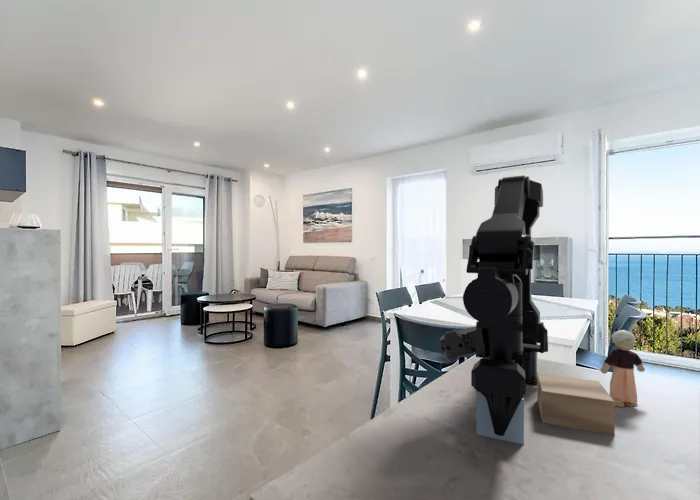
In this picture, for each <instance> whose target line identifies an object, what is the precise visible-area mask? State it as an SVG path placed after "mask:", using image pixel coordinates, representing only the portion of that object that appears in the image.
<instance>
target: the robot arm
mask: <svg viewBox="0 0 700 500" xmlns="http://www.w3.org/2000/svg"><path fill="white" fill-rule="evenodd" d="M543 189H544V188H543V185H542V183H541V182H539V181H535V180H531V179H530V176H526V175H515V176H505V177H502V178H499V179H498V183H497V186H495V188H494V207H493V211H492V214H491V217H489V218H488V219H486V220H484V221H483V222H481V223H480V225H479V226H478V228H477V231H476V233H475V235H473V236H472V238H471V244H470V249H469V254H468V257H467V258H468V259H467V265H466V270H465V271H466V274H477V277H476V278H474V279H473V280H471V282H469V283H468V284H467V286H466V287H465V289H464V291H463V294H462V301H463V303H462V304H463V306H464V308H465V310H466V312H467V313H468V315H469V316H470V317H472V318H473V319H474V320H476V322H475V326H473V327H471V326H470V327H468V328H463V329H459V330H458V329H453V330H452V331H449V330H448V331H446V332H445V333H444V334H443V335H442V336H441V337H440V338H439V342H440V348H439V349H440V351H441V352H442V353H444V357H445V360H446V361H447V360H455V358H457V357H461V356H466V355H469V354H473V353H475V358H480V359H479V360H478V361H477V362H475V363H474V364H473V366H472V369H471V370H470V372H471V375H470V376H471V377H470V383H471V384H470V386H471V387H473V389H474V390H475V392H477V391H478V392H480V393H481V394H482V395H483V396H484V397H485V398H486V400H487V404H488V408H489V412H490V416H491V420H492V425H493V429H494V433H495V434H496V435H499V436H504V434H505V432H506V430H507V428H508V426H509V424H510V422H511V420H512V418H513V416H514V414H515V412H516V410H517V408H518V406H519V404H520V402H521V400H522V398H524V399H525V395H526V391H527V390H526V389H527V388H526V383H528V384H535V385H537V373H538V362H537V361H538V353H540V354H544V353H547V352H549V338H548V337H549V336H548V335H549V334H548V329H547V328H546V327H545V325H544V324H545V323H544V322H542V321H541V312H540V310H539V308H538V307H537V305H535V304H536V303H534V301H533V300H532V270H533V267H534V260H535V259H534V257H535V242H534V241H533V240H532V228H533V226H535V223H536V221H537V220H538V219H539V217H540V211H541V210H540V208H543V207H544V190H543Z"/></svg>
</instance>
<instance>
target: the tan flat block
mask: <svg viewBox="0 0 700 500" xmlns="http://www.w3.org/2000/svg"><path fill="white" fill-rule="evenodd" d="M536 388H537V390H536V393H537V394H536V395H537V397H536V398H537V399H536V401H537V406H538V410H539V413H540V414H539V415H540V419H541V423H543V424H547V425H548V424H549V425H554V426H559V427H564V428H565V427H566V428H569V429H570V428H571V429H577V430H581V431H587V432H594V433H597V434H599V433H600V434H603V435H604V434H605V435H609V436H616V435H615V434H616V433H615V431H616V429H615V406H614V400H613V399H612V398H611V396H610V395H609V394H610V393H608V391H607V389H605V387H604V386H603V384H602V383H601V382H600V381H599V380H591V379H582V378H577V377H569V376H568V377H567V376H561V375H560V376H559V375H554V374H552V375H551V374H545V373H544V374H543V373H538V372H537V384H536Z"/></svg>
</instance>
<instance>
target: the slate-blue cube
mask: <svg viewBox="0 0 700 500" xmlns="http://www.w3.org/2000/svg"><path fill="white" fill-rule="evenodd" d="M475 392H476V393H475V394H476V398H475V399H476V405H475V406H476V415H475V419H476V421H475V422H476V428H475V430H476V432H475V433H476V435H478V436H482V437H487V438H492V439H495V440H501V441H505V442H510V443H515V444H519V445H523V446H524V445H525V417H524V416H525V409H524V408H525V397H524V398H522V400H521V402H520V404H519V406H518V408H517V410H516V412H515V414H514V416H513V418H512V420H511V422H510V424H509V426H508V428H507V430H506V432H505V434H504V436H499V435H496V434H495V433H494V429H493V425H492V420H491V416H490V412H489V408H488V404H487V400H486V398H485V397H484V396H483V395H482V394H481V393H480V392H478V391H475Z"/></svg>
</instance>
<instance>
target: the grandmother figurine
mask: <svg viewBox="0 0 700 500" xmlns="http://www.w3.org/2000/svg"><path fill="white" fill-rule="evenodd" d="M611 339H612V340H611V341H612V342H613V343H614V345H615V347H616V349H613V350H611V352H610V353H609V354H608V355H607V357H606V358H605V359H604V361H603V364H602V367H601V368H600V370H599V371H600V373H602V374H608V372H609V370H610V368H611V367H612V373H611V378H610V380H609V393H608V394H609V395H610V396H611V398H612V399H613V400H614V407H620V408H621V407H625V405H627V406H629V407H638V393H637V386H636V385H637V384H636V379H635V378H636V377H635V372H634V371H635V369H634V368H635V367H636V369H637V371H638V372H641V373H643V372H645V371H646V369H645V366H644V365H643V361H642V360H643V359H641V358H640V356H639V355H638V354H637V353H636V352H633V351H632V350H633V348H634V345H635V344H634V343H635V342H636V336H635V335H634V334H633V332H631V331H628V330H626V329H622V330H621V329H619V330H617V331H615V332H613V333H612V335H611Z"/></svg>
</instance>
